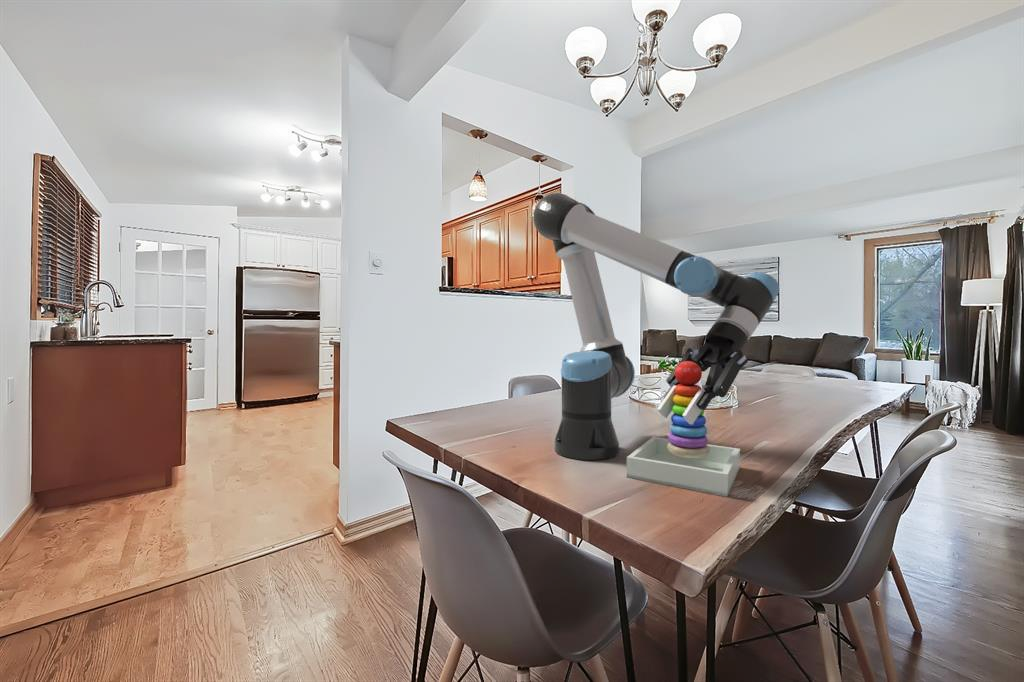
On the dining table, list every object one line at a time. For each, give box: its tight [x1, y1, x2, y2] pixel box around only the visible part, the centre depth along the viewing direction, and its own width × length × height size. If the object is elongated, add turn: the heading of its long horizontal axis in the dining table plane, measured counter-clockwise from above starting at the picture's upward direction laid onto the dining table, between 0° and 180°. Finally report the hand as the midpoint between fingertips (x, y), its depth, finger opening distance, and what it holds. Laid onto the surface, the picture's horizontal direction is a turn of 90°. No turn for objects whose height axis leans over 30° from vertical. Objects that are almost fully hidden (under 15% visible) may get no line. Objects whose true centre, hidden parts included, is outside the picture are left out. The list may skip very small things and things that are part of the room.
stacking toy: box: [667, 361, 710, 458], centre depth 87 cm, size 8×8×19 cm
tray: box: [626, 436, 741, 498], centre depth 88 cm, size 18×18×4 cm
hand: (674, 416), depth 86 cm, fingers closed on stacking toy, 6 cm apart
